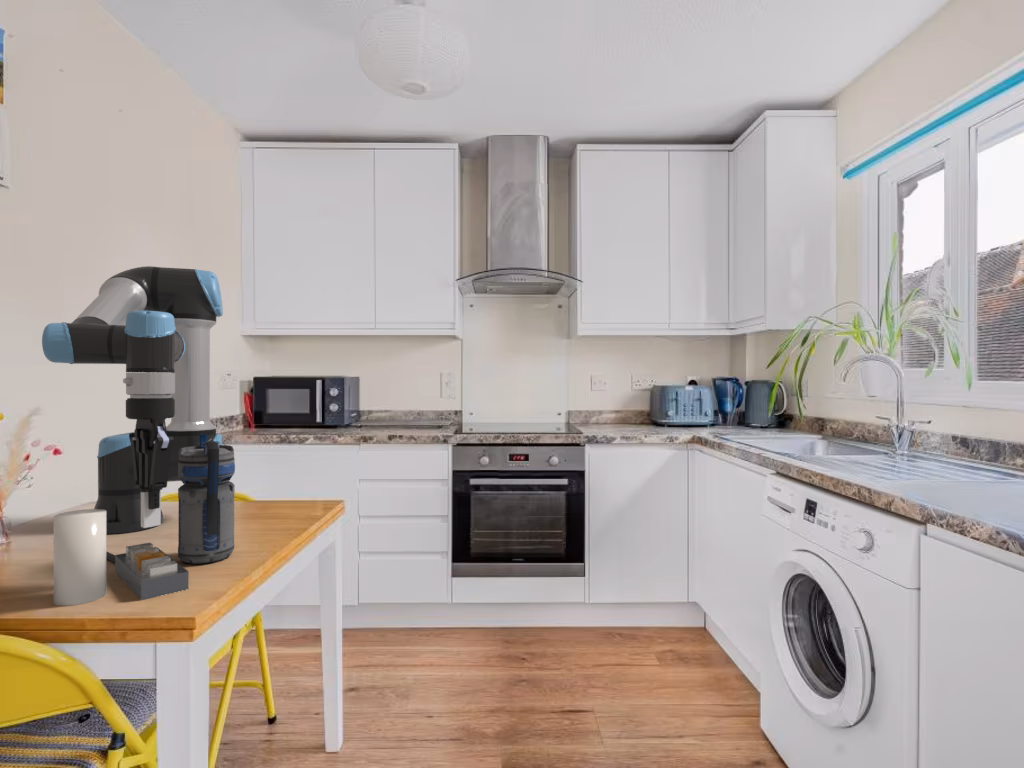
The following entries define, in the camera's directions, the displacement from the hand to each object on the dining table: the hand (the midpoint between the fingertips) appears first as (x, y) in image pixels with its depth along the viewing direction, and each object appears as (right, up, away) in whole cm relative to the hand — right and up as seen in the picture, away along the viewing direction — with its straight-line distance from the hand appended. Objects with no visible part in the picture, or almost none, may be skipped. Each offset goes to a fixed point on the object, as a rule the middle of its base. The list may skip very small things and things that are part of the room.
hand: (150, 525), depth 103 cm
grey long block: (0, -10, 0) cm, 10 cm away
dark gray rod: (-15, -10, +11) cm, 21 cm away
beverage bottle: (+4, -10, +12) cm, 16 cm away
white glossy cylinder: (-6, -10, -9) cm, 14 cm away
